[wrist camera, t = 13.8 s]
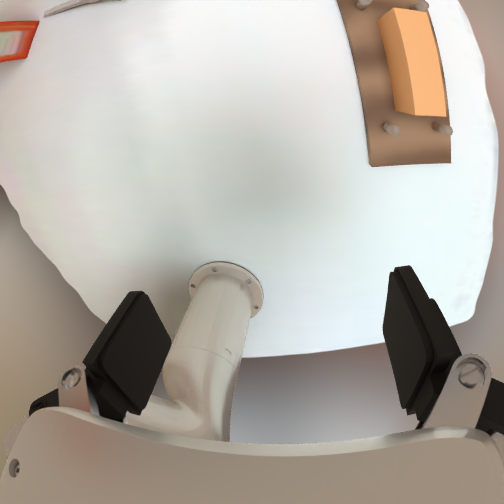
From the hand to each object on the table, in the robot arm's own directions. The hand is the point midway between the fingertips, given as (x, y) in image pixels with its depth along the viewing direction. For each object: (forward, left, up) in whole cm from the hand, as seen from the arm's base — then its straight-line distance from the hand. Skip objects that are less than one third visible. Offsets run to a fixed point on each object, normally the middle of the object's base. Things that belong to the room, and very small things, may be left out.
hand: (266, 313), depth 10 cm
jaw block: (+10, -16, -26) cm, 32 cm away
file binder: (+41, +43, -27) cm, 66 cm away
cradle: (+10, -17, -27) cm, 33 cm away
